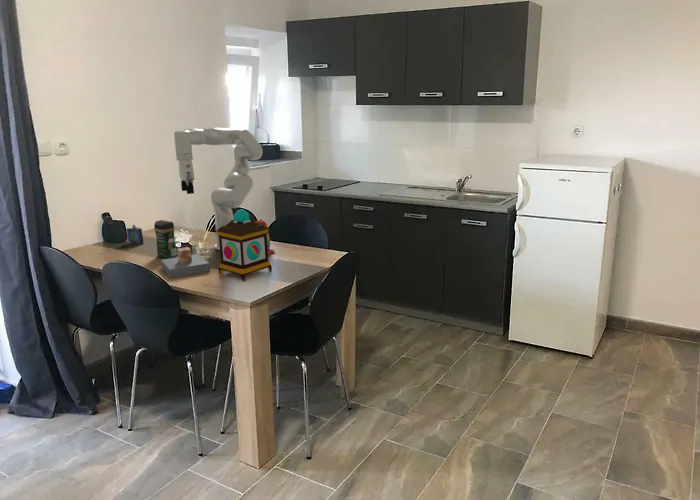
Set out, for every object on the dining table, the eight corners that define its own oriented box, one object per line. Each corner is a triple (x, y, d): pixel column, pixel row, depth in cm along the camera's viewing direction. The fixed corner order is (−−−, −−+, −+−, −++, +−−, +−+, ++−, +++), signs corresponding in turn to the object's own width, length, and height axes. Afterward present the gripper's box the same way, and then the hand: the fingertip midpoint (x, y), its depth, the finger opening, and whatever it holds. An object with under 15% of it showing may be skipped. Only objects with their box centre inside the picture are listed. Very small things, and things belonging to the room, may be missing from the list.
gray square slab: (199, 261, 285) (198, 254, 284) (210, 271, 270) (209, 263, 269) (161, 268, 277) (160, 259, 276) (170, 278, 262) (169, 269, 261)
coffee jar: (154, 256, 295) (150, 221, 290) (167, 253, 302) (163, 218, 297) (167, 259, 290) (163, 223, 285) (179, 255, 296) (176, 220, 291)
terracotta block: (189, 259, 276) (187, 247, 274) (191, 261, 272) (190, 249, 270) (178, 260, 273) (177, 248, 272) (181, 263, 269) (179, 251, 268)
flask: (127, 244, 321) (124, 225, 318) (130, 242, 324) (128, 224, 321) (142, 244, 319) (139, 225, 316) (145, 243, 321) (142, 224, 318)
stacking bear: (266, 258, 289) (264, 223, 284) (248, 256, 292) (245, 222, 288) (276, 252, 299) (274, 218, 294) (258, 250, 302) (256, 217, 297)
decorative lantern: (247, 264, 280) (243, 203, 272) (276, 271, 268) (272, 207, 259) (214, 275, 265) (208, 210, 257) (243, 283, 253) (238, 215, 245)
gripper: (197, 157, 273) (200, 193, 278) (187, 154, 288) (190, 188, 293) (181, 159, 270) (184, 195, 275) (172, 155, 284) (175, 190, 289)
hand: (187, 192), depth 284 cm, fingers open, 9 cm apart
